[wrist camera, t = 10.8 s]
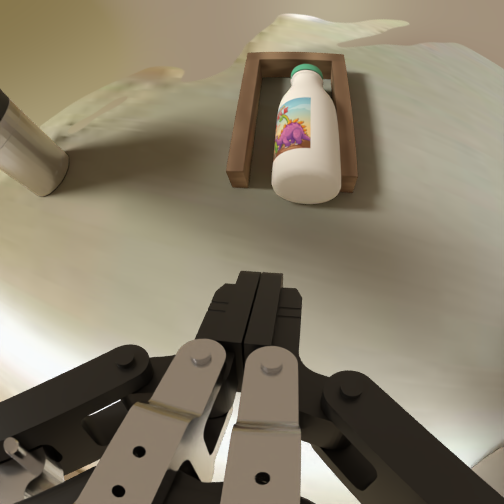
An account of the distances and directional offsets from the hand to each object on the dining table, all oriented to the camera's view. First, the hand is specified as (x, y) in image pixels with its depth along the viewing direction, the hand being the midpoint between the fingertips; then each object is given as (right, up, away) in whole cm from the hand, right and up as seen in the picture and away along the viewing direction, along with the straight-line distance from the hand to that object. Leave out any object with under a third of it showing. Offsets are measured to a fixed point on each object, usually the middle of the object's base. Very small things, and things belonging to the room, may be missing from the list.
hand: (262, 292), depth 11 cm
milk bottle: (+6, +8, +22) cm, 24 cm away
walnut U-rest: (+6, +19, +29) cm, 35 cm away
